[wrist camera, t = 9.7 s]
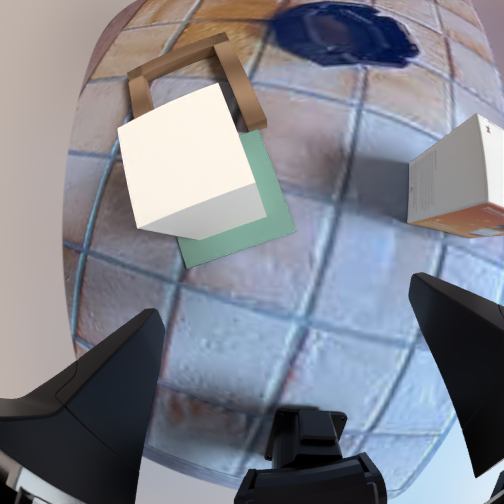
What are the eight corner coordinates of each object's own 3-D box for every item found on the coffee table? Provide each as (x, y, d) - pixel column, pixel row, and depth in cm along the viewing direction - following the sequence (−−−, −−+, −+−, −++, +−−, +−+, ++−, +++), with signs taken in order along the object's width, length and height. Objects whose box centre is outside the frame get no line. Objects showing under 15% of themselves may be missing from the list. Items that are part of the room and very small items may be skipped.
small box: (404, 223, 20) (485, 202, 10) (407, 161, 20) (474, 109, 10) (471, 240, 19) (551, 232, 9) (472, 183, 19) (544, 154, 9)
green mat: (295, 231, 21) (296, 231, 21) (188, 268, 22) (186, 268, 21) (258, 130, 21) (257, 129, 21) (159, 168, 22) (158, 167, 22)
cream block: (266, 216, 21) (255, 182, 11) (199, 240, 21) (137, 228, 11) (244, 153, 21) (218, 82, 11) (181, 177, 22) (117, 128, 12)
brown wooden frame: (267, 127, 21) (266, 118, 20) (151, 172, 22) (143, 167, 21) (227, 40, 22) (224, 31, 20) (133, 79, 23) (127, 72, 21)
